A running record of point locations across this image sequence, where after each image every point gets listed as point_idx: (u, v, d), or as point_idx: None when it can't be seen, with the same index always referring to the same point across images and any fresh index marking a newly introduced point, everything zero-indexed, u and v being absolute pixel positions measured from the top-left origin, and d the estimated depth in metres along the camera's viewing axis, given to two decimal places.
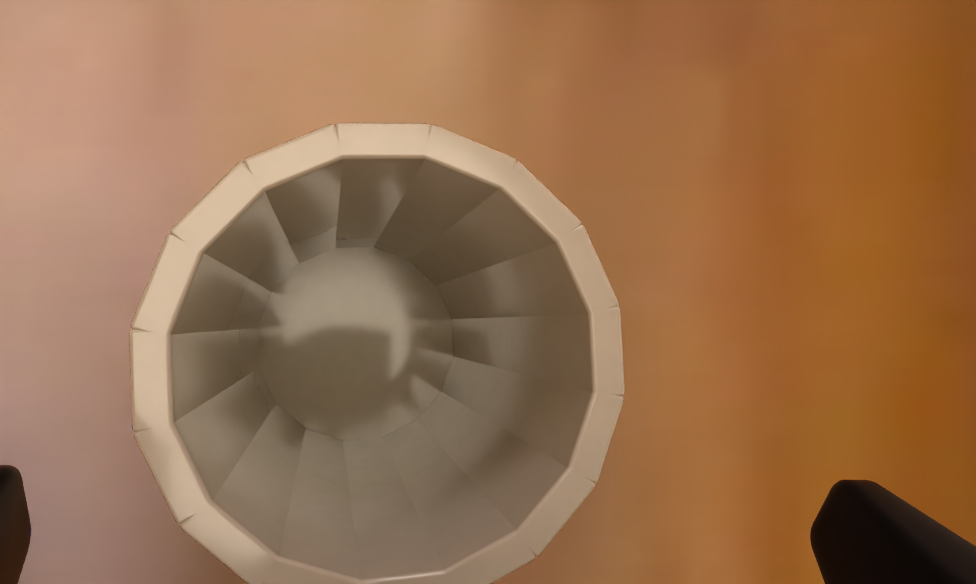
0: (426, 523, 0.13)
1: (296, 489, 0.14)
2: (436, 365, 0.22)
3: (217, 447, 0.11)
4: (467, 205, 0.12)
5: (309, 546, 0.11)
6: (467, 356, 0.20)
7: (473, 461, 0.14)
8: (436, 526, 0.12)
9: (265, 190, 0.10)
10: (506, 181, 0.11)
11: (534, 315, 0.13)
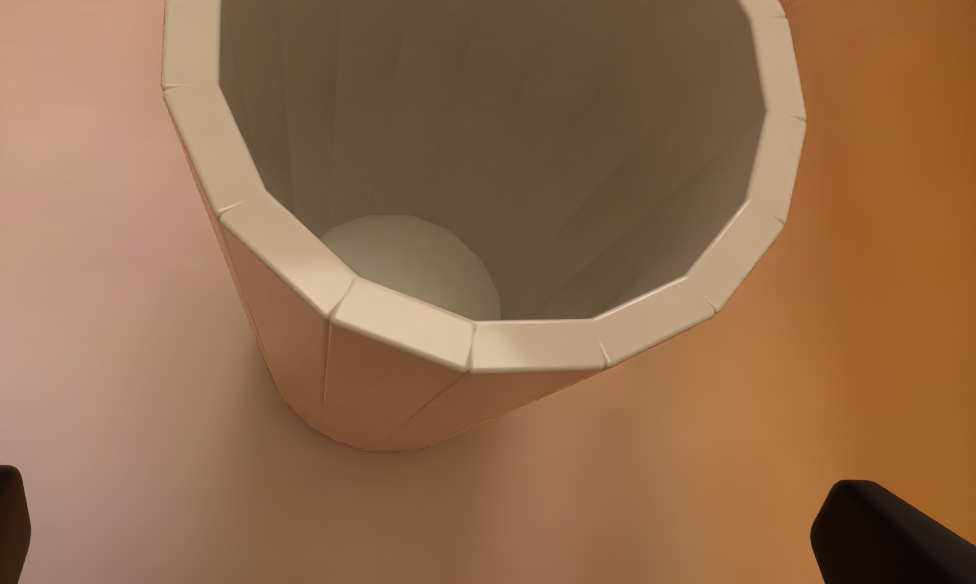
0: None
1: None
2: None
3: None
4: None
5: None
6: (526, 312, 0.17)
7: None
8: None
9: None
10: None
11: (644, 135, 0.11)
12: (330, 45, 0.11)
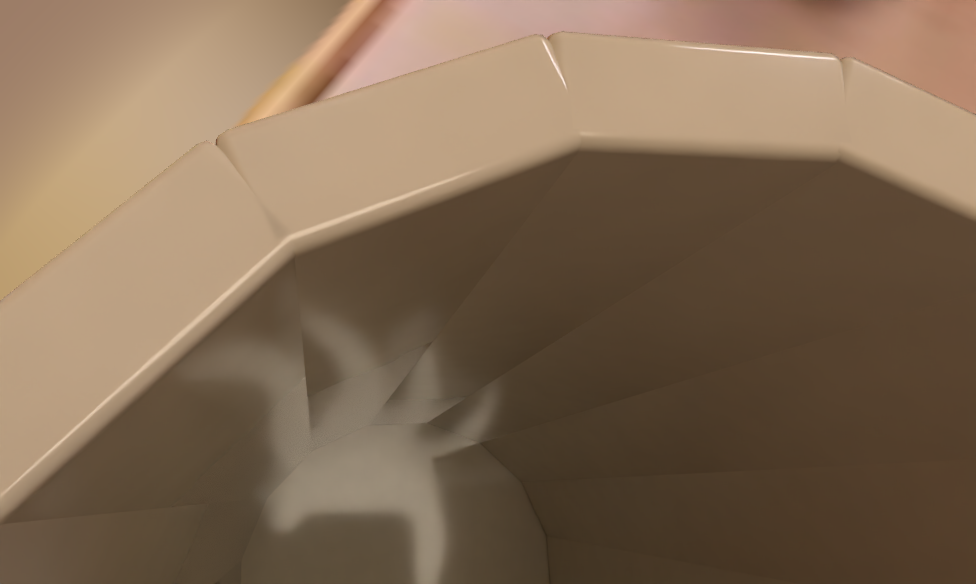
0: None
1: None
2: None
3: None
4: (787, 336, 0.05)
5: None
6: None
7: None
8: None
9: (298, 251, 0.02)
10: None
11: None
12: (291, 411, 0.06)
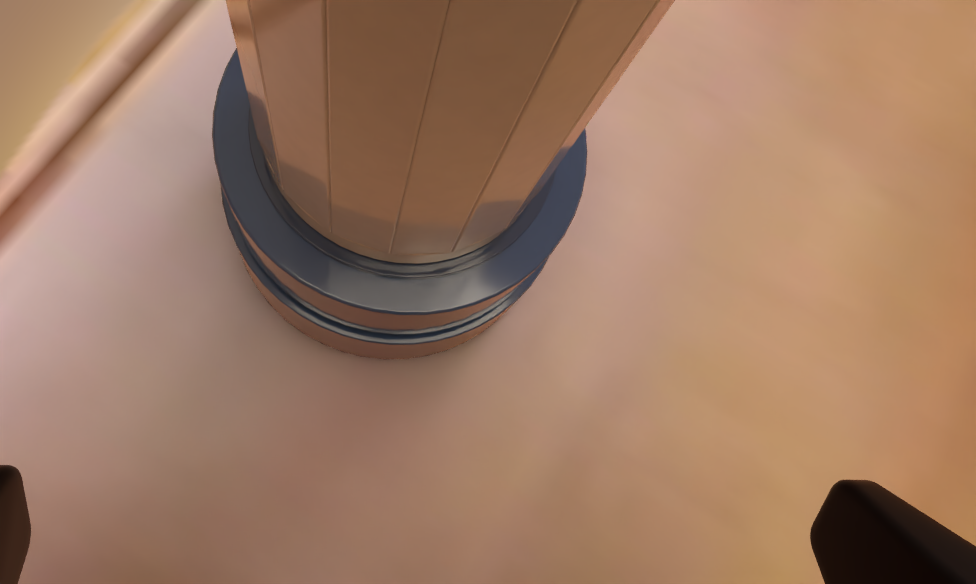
0: None
1: None
2: None
3: None
4: None
5: None
6: None
7: None
8: None
9: None
10: None
11: None
12: None
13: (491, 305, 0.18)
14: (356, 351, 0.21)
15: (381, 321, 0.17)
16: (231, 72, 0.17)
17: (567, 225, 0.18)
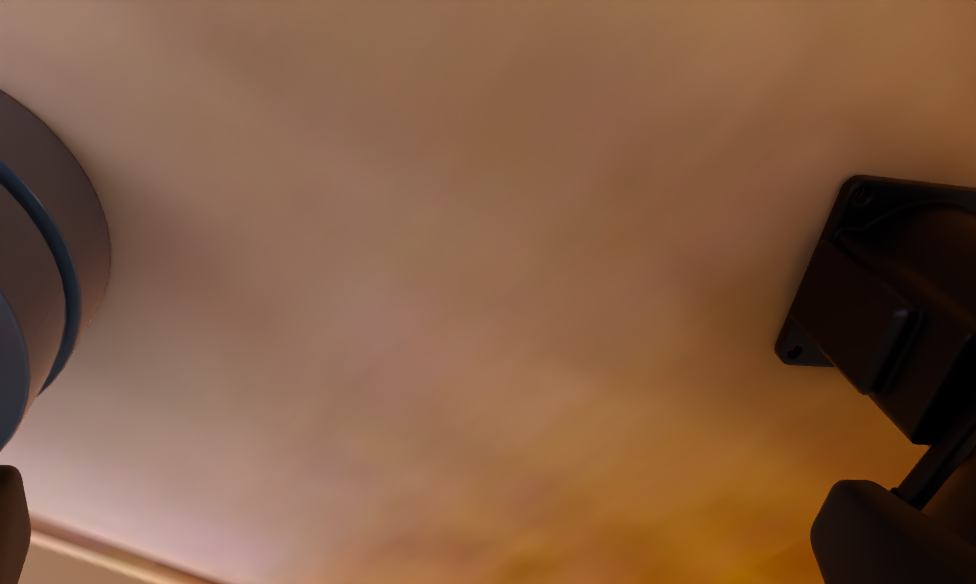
0: None
1: None
2: None
3: None
4: None
5: None
6: None
7: None
8: None
9: None
10: None
11: None
12: None
13: (1, 221, 0.15)
14: (102, 283, 0.20)
15: (45, 345, 0.16)
16: None
17: None
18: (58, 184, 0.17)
